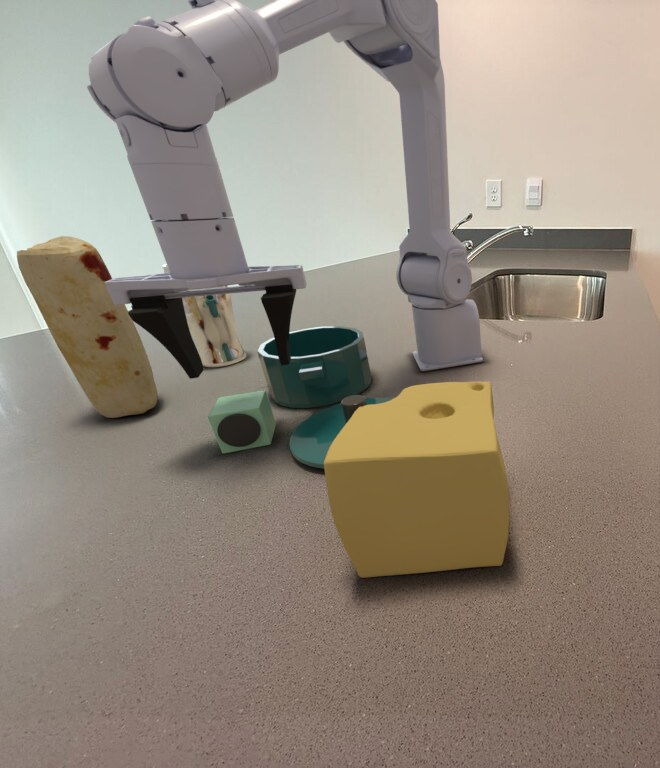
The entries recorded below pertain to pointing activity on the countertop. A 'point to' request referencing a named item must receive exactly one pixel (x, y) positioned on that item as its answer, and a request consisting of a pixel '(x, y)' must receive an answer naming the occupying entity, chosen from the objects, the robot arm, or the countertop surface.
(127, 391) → the food model
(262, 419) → the green speaker box
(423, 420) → the cheese
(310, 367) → the pot
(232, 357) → the beer glass
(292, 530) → the countertop surface
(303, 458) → the lid
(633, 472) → the countertop surface
